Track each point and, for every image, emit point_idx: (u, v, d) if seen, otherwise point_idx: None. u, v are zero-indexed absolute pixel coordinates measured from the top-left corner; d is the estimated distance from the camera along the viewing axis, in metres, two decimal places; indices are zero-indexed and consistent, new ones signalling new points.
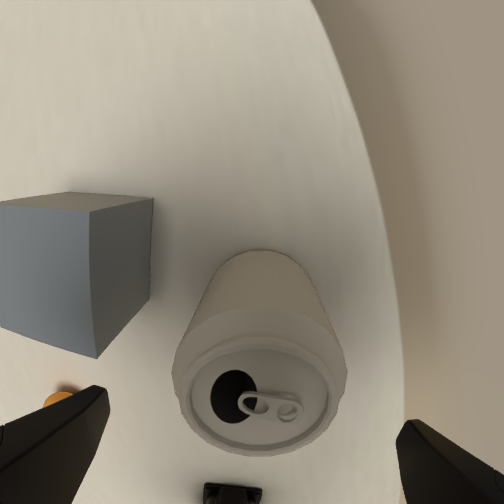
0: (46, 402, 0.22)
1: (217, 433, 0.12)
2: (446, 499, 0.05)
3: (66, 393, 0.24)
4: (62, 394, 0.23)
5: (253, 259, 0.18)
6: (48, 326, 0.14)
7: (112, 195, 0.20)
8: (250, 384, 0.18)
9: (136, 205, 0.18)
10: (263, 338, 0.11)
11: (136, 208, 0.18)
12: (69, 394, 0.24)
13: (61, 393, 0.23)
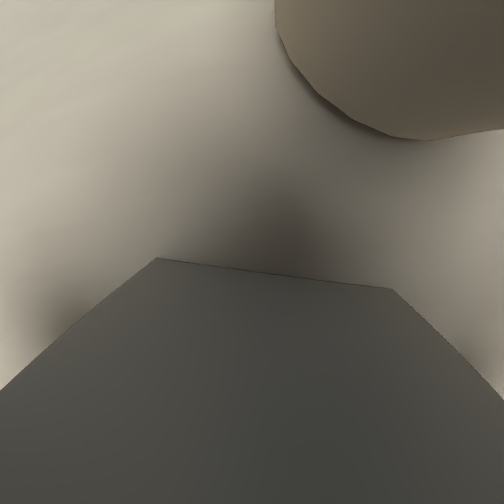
0: None
1: None
2: None
3: None
4: None
5: None
6: None
7: None
8: None
9: (123, 294, 0.06)
10: None
11: (131, 295, 0.06)
12: None
13: None
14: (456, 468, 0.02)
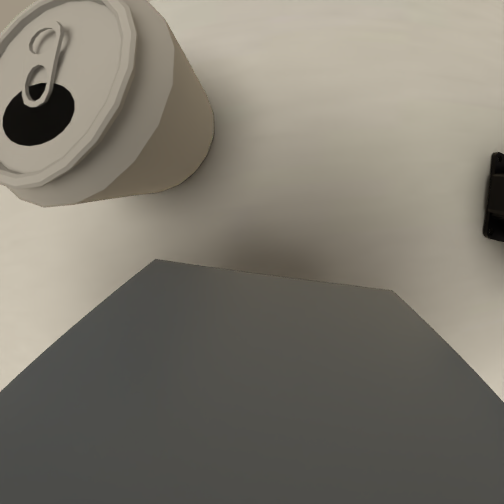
0: None
1: None
2: None
3: None
4: None
5: None
6: None
7: None
8: (201, 120, 0.12)
9: (122, 295, 0.06)
10: None
11: (130, 296, 0.06)
12: None
13: None
14: (455, 472, 0.02)
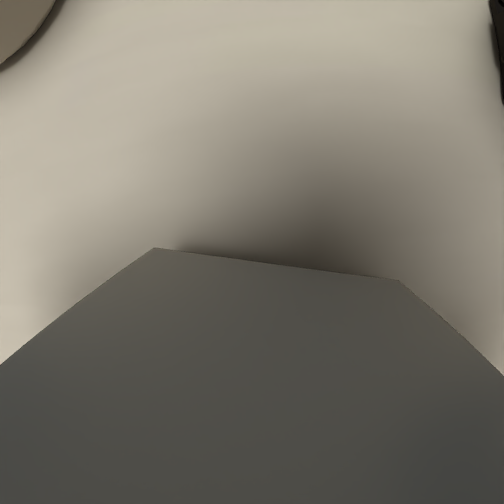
0: None
1: None
2: None
3: None
4: None
5: None
6: None
7: None
8: None
9: (118, 282, 0.06)
10: None
11: (126, 283, 0.06)
12: None
13: None
14: (478, 465, 0.02)
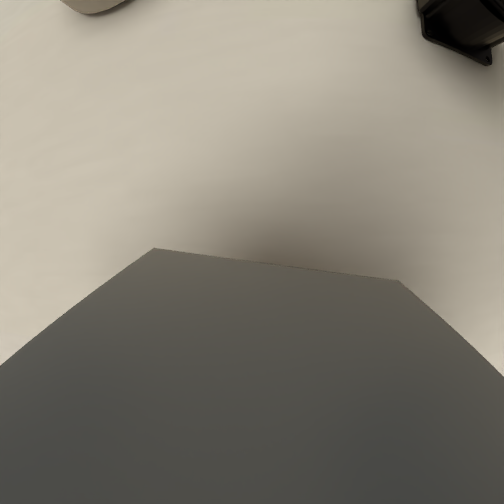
0: None
1: None
2: None
3: None
4: None
5: None
6: None
7: None
8: None
9: (118, 283, 0.06)
10: None
11: (126, 284, 0.06)
12: None
13: None
14: (478, 466, 0.02)
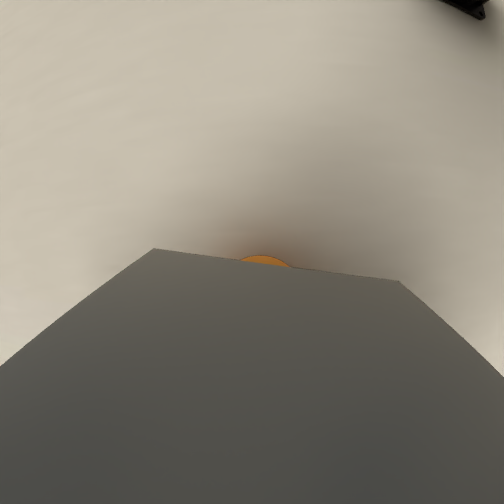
0: None
1: None
2: None
3: None
4: None
5: None
6: None
7: None
8: None
9: (118, 283, 0.06)
10: None
11: (126, 284, 0.06)
12: None
13: None
14: (478, 468, 0.02)
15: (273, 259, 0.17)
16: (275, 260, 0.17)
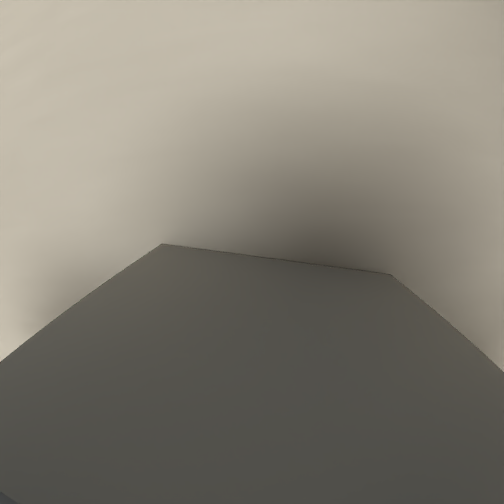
0: None
1: None
2: None
3: None
4: None
5: None
6: None
7: None
8: None
9: (131, 272, 0.07)
10: None
11: (139, 273, 0.07)
12: None
13: None
14: (458, 424, 0.03)
15: None
16: None
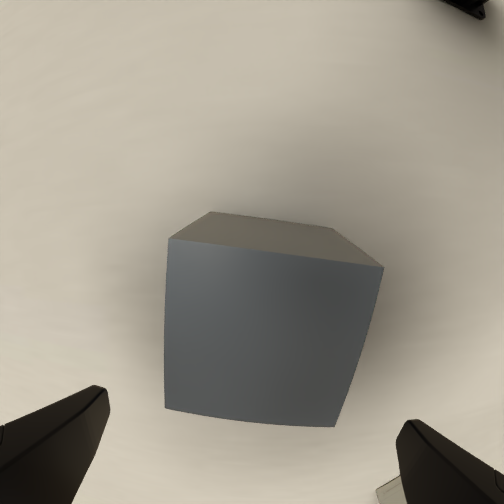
0: None
1: None
2: (446, 499, 0.05)
3: None
4: None
5: None
6: (334, 341, 0.11)
7: None
8: None
9: (205, 218, 0.16)
10: None
11: (209, 218, 0.16)
12: None
13: None
14: (325, 249, 0.12)
15: None
16: None
